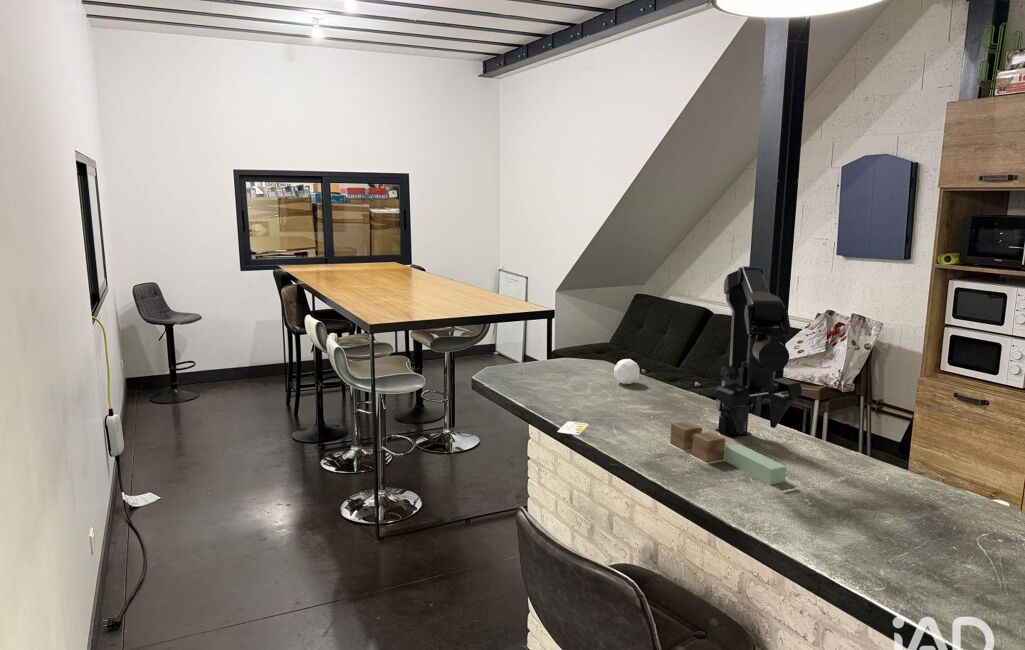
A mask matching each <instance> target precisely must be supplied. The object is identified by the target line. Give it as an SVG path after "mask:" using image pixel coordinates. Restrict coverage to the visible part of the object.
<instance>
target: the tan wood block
mask: <svg viewBox="0 0 1025 650" xmlns="http://www.w3.org/2000/svg"><path fill="white" fill-rule="evenodd" d="M725 447H726V438H725V437H724V436H722V435H720V434H717V433H715V432H714V431H705V432H704V431H703V432H702V433H697V434H693V443H692V451H691V452H692V453H691V454H692V456H694V457H696V458H698V459H700V460H702V461H704V462H706V463H708V462H714V461H719V460H724V459H725Z"/></svg>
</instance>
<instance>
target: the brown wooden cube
mask: <svg viewBox="0 0 1025 650" xmlns="http://www.w3.org/2000/svg"><path fill="white" fill-rule="evenodd" d="M702 431H703V427H702V426H700V425H698V424H695V423H693V422H691V421H690V420H686V421H681V422H679V421H678V422H675V423H674V422H673V423H671V425H670V440H669V441H670V442H669V443H670V444H672V445H674V446H675V447H677V448H679V449H681V450H683V451H685V450H691V449H692V443H693V434H697V433H703V432H702ZM675 447H674V448H675ZM677 448H676V449H677Z"/></svg>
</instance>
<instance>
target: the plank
mask: <svg viewBox="0 0 1025 650" xmlns="http://www.w3.org/2000/svg"><path fill="white" fill-rule="evenodd" d="M723 462H726V463H728V464H729V465H732V466H734V467H736V468H737V469H739V470H741V471H743V472H745V473H747V474H749V475H751V476H752V477H755V478H756V479H758V480H760V481H762V482H764V483H765V484H768V485H776V484H781V483H785V482H786V475H787V466H786V465H784V464H782V463H780V462H778V461H775V460H773V459H771V458H769V457H768V456H765V455H763V454H761V453H759V452H757V451H755V450H752V449H751V448H748V447H746V446H744V445H743V444H733V445H725V454H724V461H723Z"/></svg>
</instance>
